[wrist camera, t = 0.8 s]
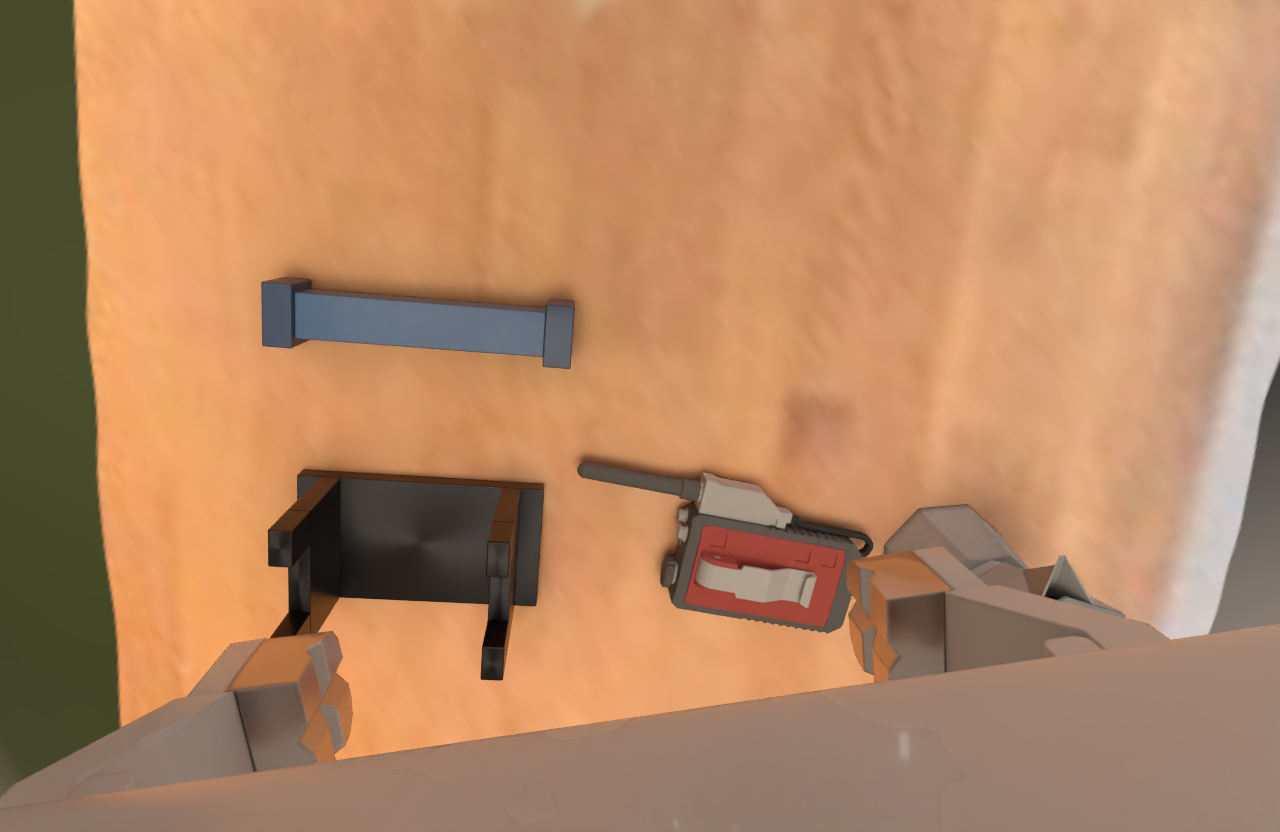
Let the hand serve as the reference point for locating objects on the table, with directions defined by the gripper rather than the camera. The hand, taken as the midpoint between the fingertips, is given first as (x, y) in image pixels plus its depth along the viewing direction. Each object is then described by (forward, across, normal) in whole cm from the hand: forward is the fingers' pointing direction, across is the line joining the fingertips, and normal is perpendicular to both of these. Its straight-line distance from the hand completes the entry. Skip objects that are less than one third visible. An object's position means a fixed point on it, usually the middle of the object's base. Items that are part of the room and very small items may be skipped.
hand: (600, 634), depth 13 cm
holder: (+39, +12, +12) cm, 42 cm away
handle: (+39, +9, -2) cm, 40 cm away
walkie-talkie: (+39, -7, +15) cm, 42 cm away
